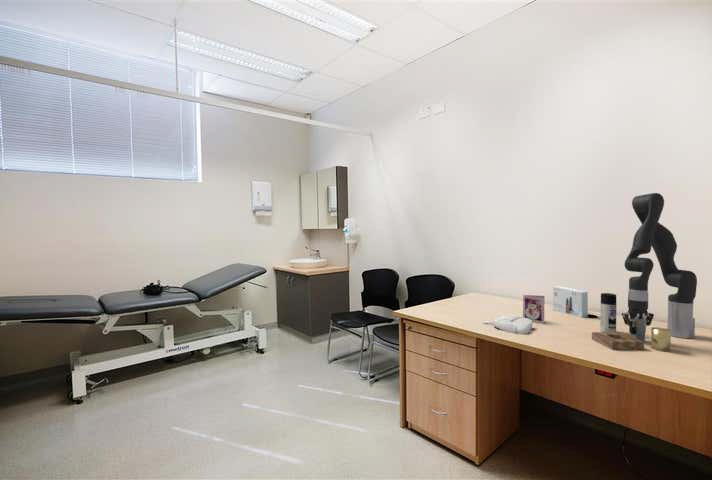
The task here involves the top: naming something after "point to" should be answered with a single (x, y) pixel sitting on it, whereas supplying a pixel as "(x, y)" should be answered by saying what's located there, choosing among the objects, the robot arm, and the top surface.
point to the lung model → (512, 324)
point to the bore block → (617, 341)
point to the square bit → (639, 330)
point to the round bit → (661, 339)
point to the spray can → (608, 312)
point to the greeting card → (533, 308)
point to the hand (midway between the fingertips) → (637, 333)
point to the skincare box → (570, 301)
